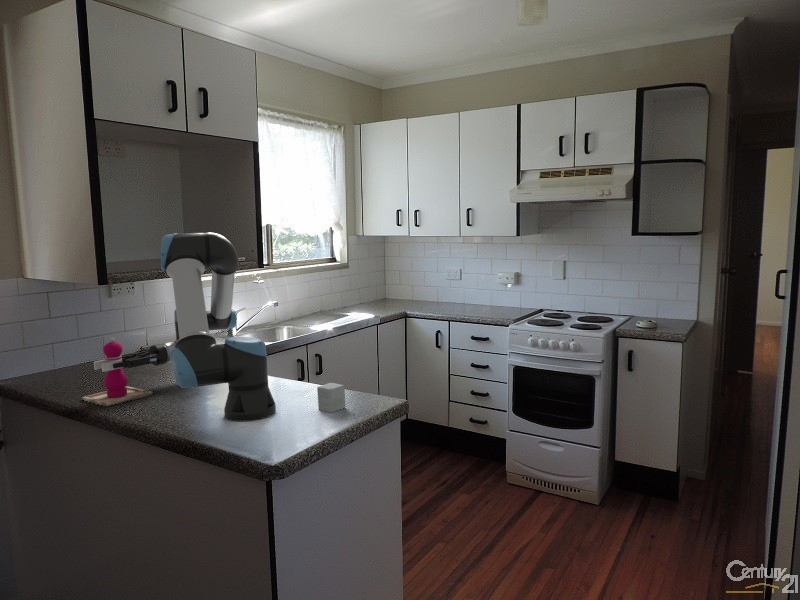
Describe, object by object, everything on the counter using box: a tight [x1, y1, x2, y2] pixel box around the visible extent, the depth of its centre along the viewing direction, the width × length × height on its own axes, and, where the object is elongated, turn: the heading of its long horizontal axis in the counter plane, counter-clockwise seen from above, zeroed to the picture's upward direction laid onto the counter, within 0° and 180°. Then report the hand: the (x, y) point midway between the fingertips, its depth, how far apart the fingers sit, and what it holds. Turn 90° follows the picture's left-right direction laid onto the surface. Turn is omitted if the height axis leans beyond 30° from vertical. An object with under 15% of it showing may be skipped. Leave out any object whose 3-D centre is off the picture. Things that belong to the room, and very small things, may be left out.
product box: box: [316, 382, 346, 413], centre depth 181 cm, size 6×6×7 cm
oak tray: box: [81, 385, 153, 407], centre depth 204 cm, size 16×16×1 cm
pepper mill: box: [102, 337, 129, 398], centre depth 202 cm, size 7×7×20 cm
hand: (98, 366), depth 198 cm, fingers closed on pepper mill, 5 cm apart
